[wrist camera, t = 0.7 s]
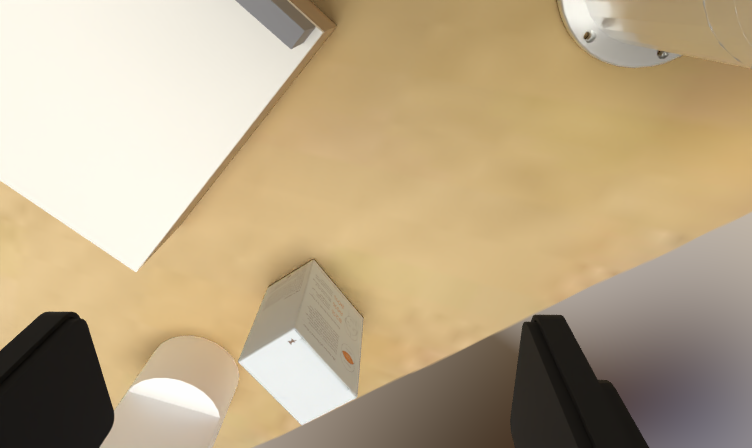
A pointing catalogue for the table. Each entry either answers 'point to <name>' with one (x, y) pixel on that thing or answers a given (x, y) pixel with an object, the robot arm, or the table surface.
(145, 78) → the lid
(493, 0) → the table surface
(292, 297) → the small box
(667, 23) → the robot arm
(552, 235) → the table surface
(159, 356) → the base with upright slab
